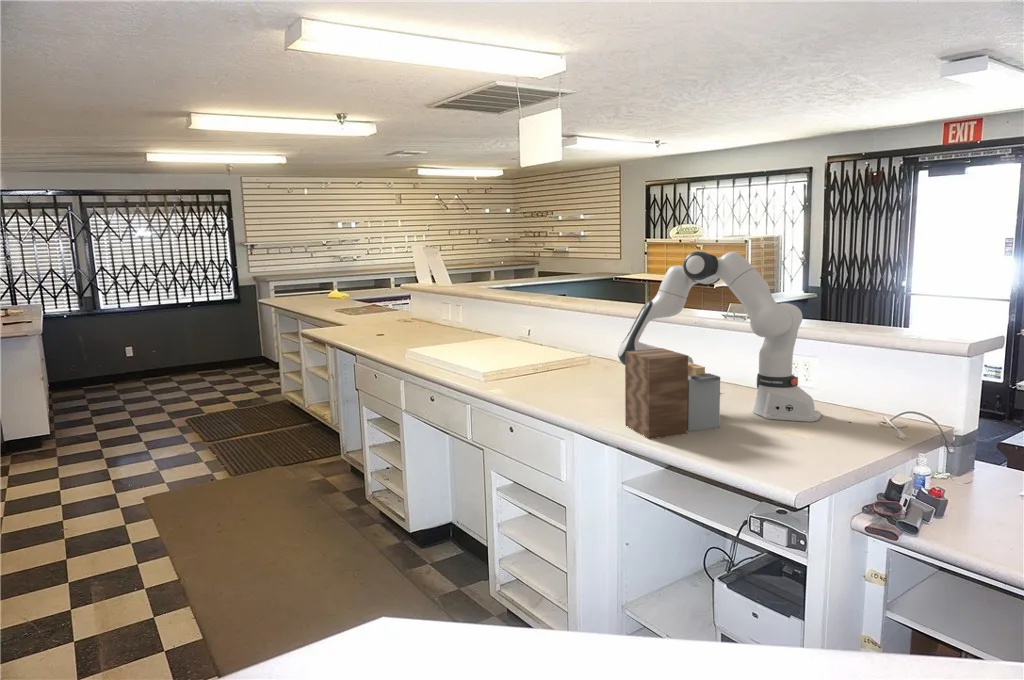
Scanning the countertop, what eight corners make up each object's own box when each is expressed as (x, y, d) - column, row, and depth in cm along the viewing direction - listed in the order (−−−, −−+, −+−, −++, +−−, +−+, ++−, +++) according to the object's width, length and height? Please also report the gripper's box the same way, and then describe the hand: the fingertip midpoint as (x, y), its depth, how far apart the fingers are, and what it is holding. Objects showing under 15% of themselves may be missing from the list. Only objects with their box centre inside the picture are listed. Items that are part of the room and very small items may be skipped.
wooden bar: (656, 367, 240) (656, 357, 239) (673, 365, 242) (673, 356, 241) (701, 382, 213) (701, 371, 213) (720, 380, 215) (720, 369, 215)
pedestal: (625, 426, 226) (625, 351, 222) (661, 421, 231) (661, 348, 227) (649, 439, 211) (649, 359, 207) (687, 433, 216) (688, 355, 212)
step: (665, 420, 232) (666, 373, 229) (695, 416, 235) (696, 369, 233) (688, 431, 219) (688, 380, 216) (719, 427, 222) (720, 377, 220)
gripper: (631, 366, 244) (647, 352, 231) (679, 361, 250) (698, 348, 237) (635, 382, 241) (652, 369, 229) (684, 377, 248) (703, 364, 235)
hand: (676, 358), depth 233 cm, fingers open, 8 cm apart
